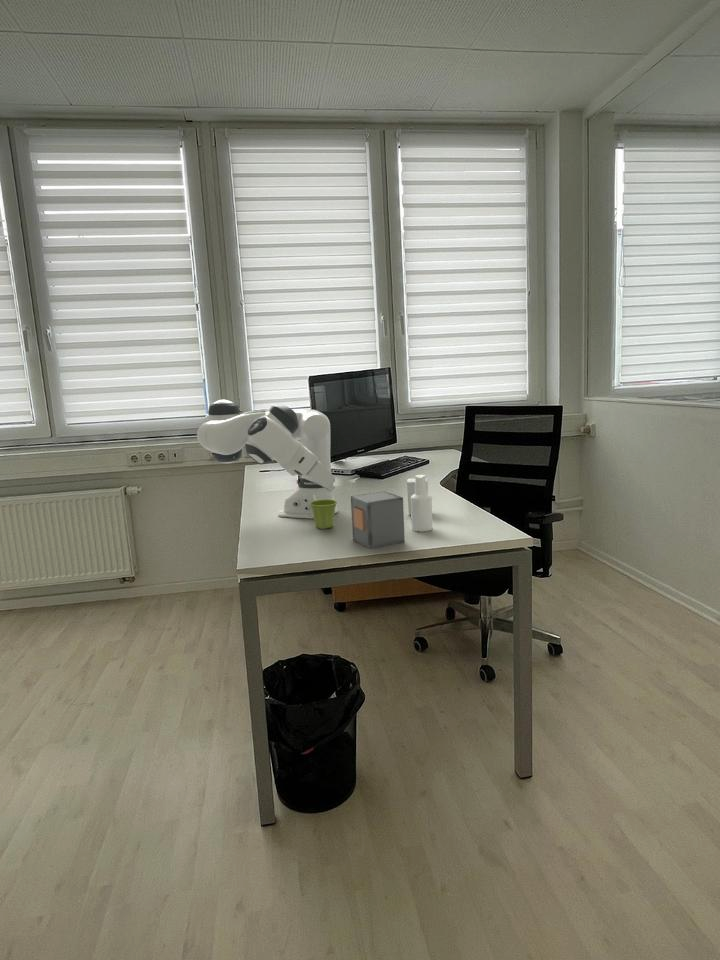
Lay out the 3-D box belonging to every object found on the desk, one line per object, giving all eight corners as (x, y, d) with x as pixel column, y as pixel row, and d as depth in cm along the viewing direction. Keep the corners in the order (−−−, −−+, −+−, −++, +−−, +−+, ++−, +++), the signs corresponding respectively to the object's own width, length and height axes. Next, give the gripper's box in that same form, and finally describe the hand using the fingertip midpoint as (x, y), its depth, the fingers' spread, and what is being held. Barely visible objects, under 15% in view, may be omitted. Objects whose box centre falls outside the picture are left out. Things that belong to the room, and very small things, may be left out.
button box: (369, 548, 178) (367, 502, 175) (353, 539, 189) (350, 496, 186) (404, 542, 183) (402, 497, 180) (386, 533, 193) (384, 491, 191)
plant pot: (340, 523, 210) (339, 499, 208) (335, 530, 201) (333, 505, 199) (315, 523, 211) (313, 499, 210) (308, 530, 202) (306, 505, 201)
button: (362, 530, 179) (361, 511, 178) (354, 526, 185) (353, 507, 184) (377, 527, 181) (376, 508, 180) (368, 523, 187) (367, 505, 186)
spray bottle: (433, 526, 199) (431, 473, 196) (431, 532, 192) (429, 477, 189) (413, 526, 200) (411, 474, 197) (410, 532, 194) (408, 477, 191)
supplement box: (428, 510, 222) (427, 477, 219) (428, 515, 214) (427, 481, 212) (408, 511, 222) (407, 478, 220) (408, 516, 215) (406, 481, 213)
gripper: (280, 464, 179) (313, 491, 184) (302, 473, 160) (338, 503, 166) (293, 448, 180) (325, 475, 185) (316, 455, 161) (351, 485, 167)
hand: (331, 489), depth 176 cm, fingers closed
